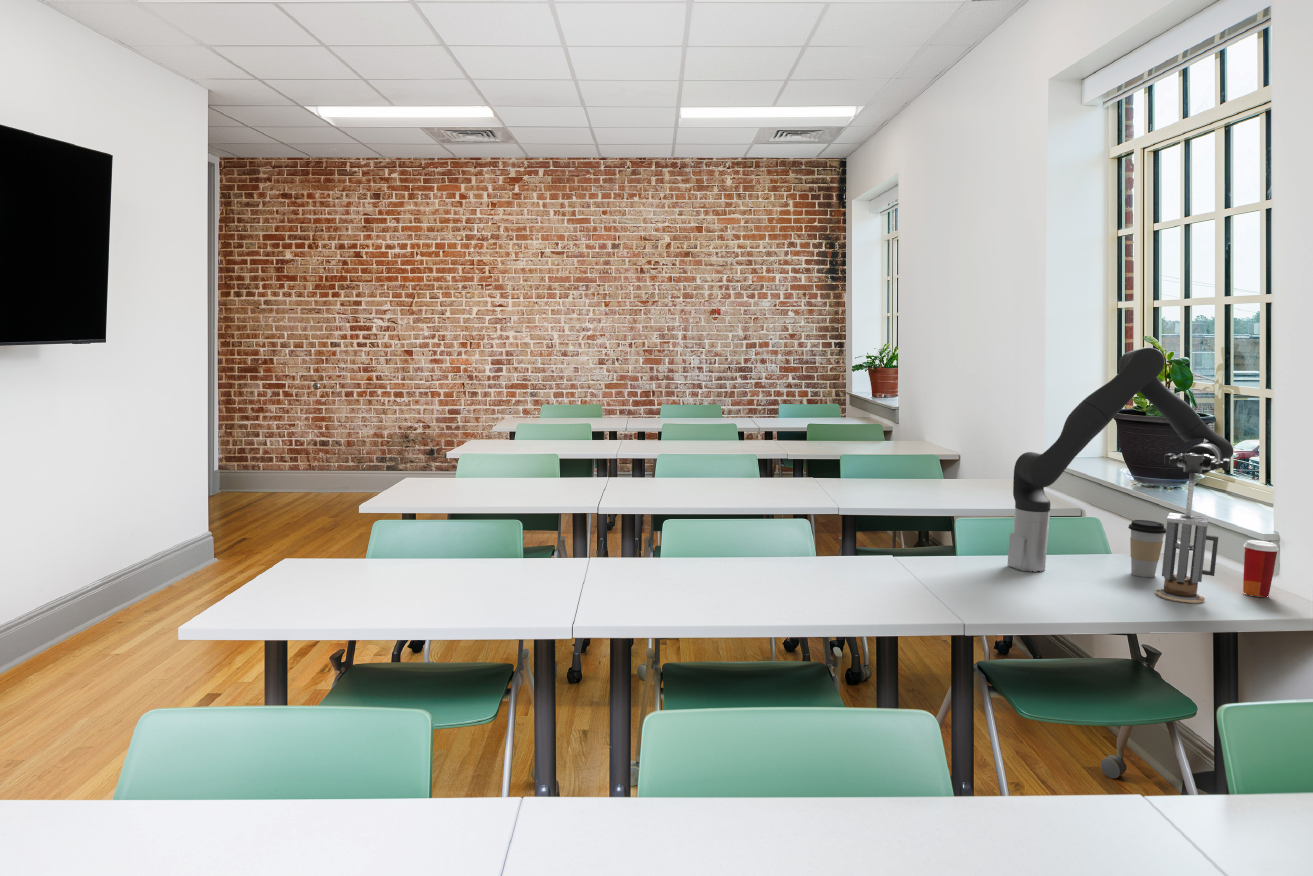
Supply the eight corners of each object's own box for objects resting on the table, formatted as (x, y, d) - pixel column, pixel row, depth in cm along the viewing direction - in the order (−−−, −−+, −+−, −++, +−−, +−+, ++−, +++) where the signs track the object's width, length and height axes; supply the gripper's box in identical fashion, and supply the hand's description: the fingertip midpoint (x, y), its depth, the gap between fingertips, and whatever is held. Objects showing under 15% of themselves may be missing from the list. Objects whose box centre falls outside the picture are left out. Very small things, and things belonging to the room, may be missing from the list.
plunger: (1185, 551, 222) (1195, 456, 219) (1165, 545, 227) (1175, 453, 224) (1204, 550, 223) (1214, 456, 220) (1184, 544, 229) (1193, 453, 226)
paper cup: (1267, 592, 233) (1273, 541, 232) (1277, 600, 226) (1283, 547, 225) (1234, 589, 236) (1239, 538, 234) (1242, 596, 229) (1248, 544, 227)
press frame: (1153, 597, 225) (1161, 517, 223) (1157, 588, 234) (1164, 511, 232) (1210, 607, 218) (1219, 525, 216) (1212, 597, 227) (1220, 518, 225)
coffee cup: (1166, 580, 243) (1172, 527, 241) (1130, 577, 244) (1135, 525, 243) (1154, 571, 252) (1159, 520, 250) (1119, 569, 254) (1124, 518, 252)
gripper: (1173, 441, 238) (1162, 446, 226) (1235, 447, 229) (1227, 452, 217) (1170, 469, 239) (1159, 475, 227) (1232, 475, 230) (1224, 482, 218)
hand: (1192, 464), depth 222 cm, fingers open, 8 cm apart
